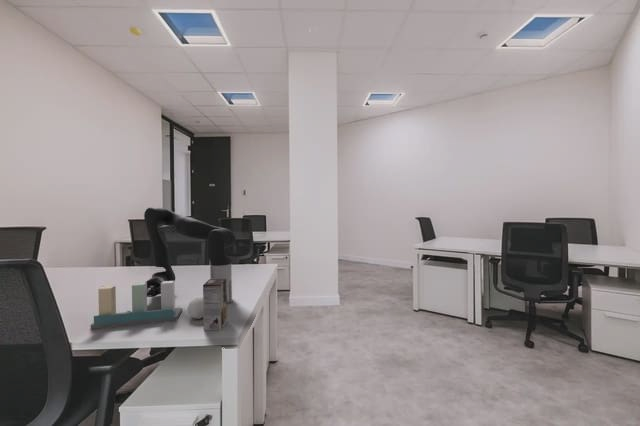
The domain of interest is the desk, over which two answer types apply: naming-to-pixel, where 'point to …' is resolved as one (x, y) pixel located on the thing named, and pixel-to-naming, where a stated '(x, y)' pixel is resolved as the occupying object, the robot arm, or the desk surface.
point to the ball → (196, 308)
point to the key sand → (107, 300)
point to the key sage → (139, 297)
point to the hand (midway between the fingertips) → (141, 296)
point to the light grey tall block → (167, 295)
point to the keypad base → (135, 318)
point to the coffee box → (215, 304)
